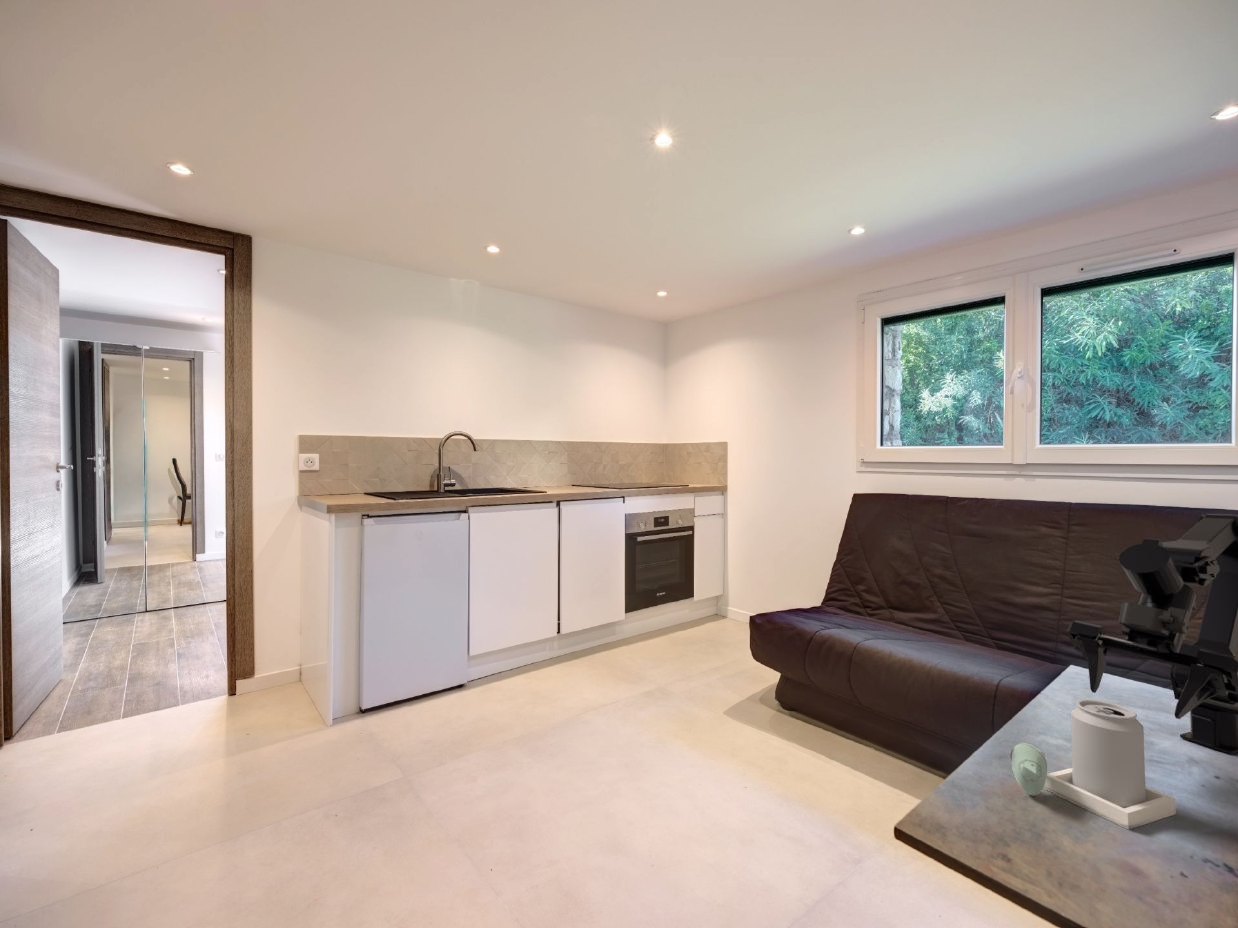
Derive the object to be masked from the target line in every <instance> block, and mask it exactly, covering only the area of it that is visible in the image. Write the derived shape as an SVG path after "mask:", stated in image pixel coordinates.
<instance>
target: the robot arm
mask: <svg viewBox="0 0 1238 928" xmlns="http://www.w3.org/2000/svg"><path fill="white" fill-rule="evenodd" d="M1118 561H1119V564H1120V566H1121V567H1122V569H1123V570H1124V572H1125V574H1126V576H1127V577H1128V580H1129V581H1130V582H1131V584H1132V586H1133V587H1134V590H1135V591H1138V592H1139V593H1141V597H1140V599H1139V602H1138V604H1137V603H1132V602H1121V606H1120V607H1121V608H1120V612H1119V616H1118V617H1119V618H1118V622H1117V623H1118V624H1119V625H1122V627H1121V633H1122V635H1123V636H1126V638H1125V639H1123V638H1122V639H1121V638H1117V637H1114V636H1110V635H1109V636H1108V635H1107V633H1106V631H1105V628H1104V626H1103V625H1100V624H1095V623H1090V622H1087V621H1082V620H1078V619H1077V620H1074V621H1072V622H1070V623H1069V624H1068V627H1067V629H1066V632H1065V633H1066V634H1067V637H1068V638H1069V640H1070V642H1071V644H1072V648H1073V649H1074V650H1075V651H1076V652H1078V653H1079V654H1081V656H1082V657H1083V658H1084V659H1086V660H1087V668H1088V678H1089V687H1090V691H1091V693H1093V694H1096V693H1097V692H1098V689H1099V687H1100V686H1101V682H1102V678H1103V675H1104V671H1105V669H1106V666H1107V662H1108V661H1107V659H1106V656H1108V654H1109V651H1110V650H1111V651H1114V652H1118V653H1123V654H1127V655H1130V656H1134V657H1138V658H1142V659H1146V660H1149V661H1150V660H1151V661H1154V662H1157V663H1161V664H1165V665H1169V666H1171V668H1170V672H1169V673H1170V682H1171V686H1172V691H1173V696H1174V699H1175V700H1178V701H1177V702H1176V705H1175V710H1174V717H1175V719H1177V720H1180V719H1182V718H1183V717H1184V716H1186V715H1187V714H1190V715H1189V716H1190V717H1189V718H1190V719H1189V720H1190V723H1189V724H1190V731H1187V732H1183V733H1180V734H1179V737H1180V738H1181V739H1183V740H1186V741H1190V742H1193V743H1196V744H1199V745H1202V746H1205V747H1208V748H1211V749H1214V750H1216V751H1220V752H1222V753H1226V754H1228V755H1234V754H1238V657H1237V652H1238V651H1237V650H1238V514H1231V513H1230V514H1229V513H1228V514H1227V513H1225V514H1224V513H1206V514H1201V515H1200V516H1199V519H1198V522H1197V523H1196V524H1195V525H1194V526H1192V528H1190V529H1189V530H1188V531H1187V532H1185V534H1184V535H1182V536H1181V537H1180V538H1179V539H1177V540H1172V541H1163V542H1162V540H1161V539H1156V538H1155V539H1154V538H1143V539H1142V541H1141V543H1139V544H1138V543H1137V544H1135V545H1131V546H1129V547H1127V548H1126V549H1124V550H1123V551H1122V552H1120V554H1119V557H1118ZM1209 584H1210V587H1209V590H1208V594H1207V597H1206V602H1205V607H1204V610H1203V614H1202V619H1201V623H1200V626H1199V631H1198V636H1197V640H1196V641H1195V642H1193V643H1190V644H1189V643H1183V641H1185V640H1186V637H1187V634H1188V631H1189V627H1190V618H1191V615H1192V611H1194V610H1196V609H1197V604H1196V600H1197V595H1196V592H1195V591H1194V590H1193V589H1192V588H1191V587H1190V586H1191V585H1192V586H1201V587H1206V586H1208V585H1209ZM1189 585H1190V586H1189Z"/></svg>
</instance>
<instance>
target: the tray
mask: <svg viewBox="0 0 1238 928" xmlns="http://www.w3.org/2000/svg"><path fill="white" fill-rule="evenodd" d="M1044 790H1045V791H1047V790H1048V792H1049V791H1050V793H1051V792H1053V793H1054V795H1055V794H1056V796H1057V795H1058V797H1060V796H1061V797H1060V798H1061V799H1064V800H1066V799H1067V800H1066V801H1068V802H1070V801H1071V802H1070V803H1073V804H1074V805H1076V806H1079V807H1080V806H1081V808H1082V809H1084V810H1086V811H1088V812H1091V813H1092V814H1095V815H1097V816H1099V817H1100V818H1103V819H1105V820H1107V821H1110V822H1111V823H1114V824H1115V825H1118V826H1120V827H1122V828H1124V829H1126V830H1132V829H1134V828H1137V827H1141V826H1144V825H1146V824H1151V823H1154V822H1156V821H1159V820H1162V819H1165V818H1169V817H1171V816H1175V815H1176V798H1175V797H1172V796H1169V795H1168V794H1165V793H1163V792H1160V791H1159V790H1155V789H1152V788H1150V787H1148V786H1146V785H1145V795H1146V802H1144V803H1141V804H1137V805H1134V806H1131V807H1127V808H1122V807H1120V806H1118V805H1115V804H1113V803H1111V802H1109V801H1107V800H1104V799H1102V798H1100V797H1098V796H1096V795H1093V794H1091V793H1089V792H1087V791H1085V790H1083V789H1080V788H1078V787H1076V786H1075V785H1074V784H1073V776H1072V767H1070V768H1065V769H1062V770H1058V771H1054V772H1049V773H1047V775H1046V781H1045V784H1044ZM1053 793H1052V794H1053Z"/></svg>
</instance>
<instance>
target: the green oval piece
mask: <svg viewBox="0 0 1238 928" xmlns="http://www.w3.org/2000/svg"><path fill="white" fill-rule="evenodd" d="M1009 755H1010V765H1011V769H1012V773H1013V774H1014V775H1013V776H1014V777H1015V779H1016V781H1017V783H1018V785H1019V786H1020V788H1021V789H1022V790H1023V791H1024V792H1025V793H1026V794H1027V795H1029V796H1032V797H1033V796H1035V797H1036V796H1037V795H1038V794H1039V795H1040V793H1041V792H1042V791H1043V790H1044V788H1045V781H1046V775H1047V774H1048V762H1047V759H1046V754H1045V752H1043V751H1041V750H1040V749H1038V748H1037V747H1035V746H1034V745H1033V744H1030V743H1027V742H1020V743H1016V744H1015V745H1014V746H1013V747H1012V749H1011V751H1010V754H1009Z"/></svg>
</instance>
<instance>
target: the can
mask: <svg viewBox="0 0 1238 928" xmlns="http://www.w3.org/2000/svg"><path fill="white" fill-rule="evenodd" d="M1076 706H1077V707H1076V708H1074V709H1072V710H1071V711H1070V719H1071V720H1070V724H1071V725H1070V726H1071V729H1070V730H1071V765H1072V767H1071V768H1072V776H1073V784H1074V785H1075V786H1076V787H1078V788H1080V789H1083V790H1085V791H1087V792H1089V793H1091V794H1093V795H1096V796H1098V797H1100V798H1102V799H1104V800H1107V801H1109V802H1111V803H1113V804H1115V805H1118V806H1120V807H1122V808H1127V807H1131V806H1134V805H1137V804H1141V803H1144V802H1146V795H1145V786H1146V769H1145V766H1146V763H1145V737H1144V736H1145V735H1144V734H1145V733H1144V731H1145V729H1144V728H1145V727H1144V725H1143V724H1142V723H1141V722H1140V721H1139V720H1138V719H1137V718H1138V715H1137V714H1138V713H1136V712H1135V711H1134V710H1132V709H1130V708H1128V707H1126V706H1123V705H1119V704H1115V703H1112V702H1108V701H1102V700H1095V699H1080V700H1078V701H1076Z"/></svg>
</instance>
